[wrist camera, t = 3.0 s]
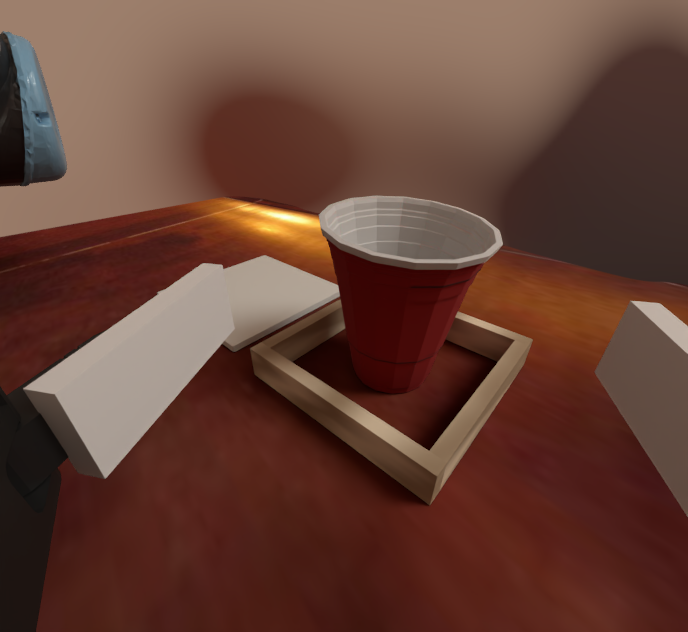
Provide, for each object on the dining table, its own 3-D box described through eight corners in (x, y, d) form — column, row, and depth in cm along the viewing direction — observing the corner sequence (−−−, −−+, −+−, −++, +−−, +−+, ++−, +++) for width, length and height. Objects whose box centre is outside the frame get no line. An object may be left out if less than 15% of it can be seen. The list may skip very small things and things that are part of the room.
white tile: (158, 297, 36) (156, 292, 36) (265, 259, 45) (264, 255, 45) (234, 352, 28) (232, 346, 28) (345, 293, 37) (345, 288, 37)
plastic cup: (396, 455, 20) (424, 267, 14) (295, 363, 27) (282, 211, 21) (492, 375, 26) (542, 219, 20) (389, 317, 33) (401, 188, 27)
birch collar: (254, 374, 26) (250, 348, 25) (373, 302, 36) (374, 280, 34) (429, 505, 18) (437, 476, 16) (523, 364, 27) (532, 339, 26)
